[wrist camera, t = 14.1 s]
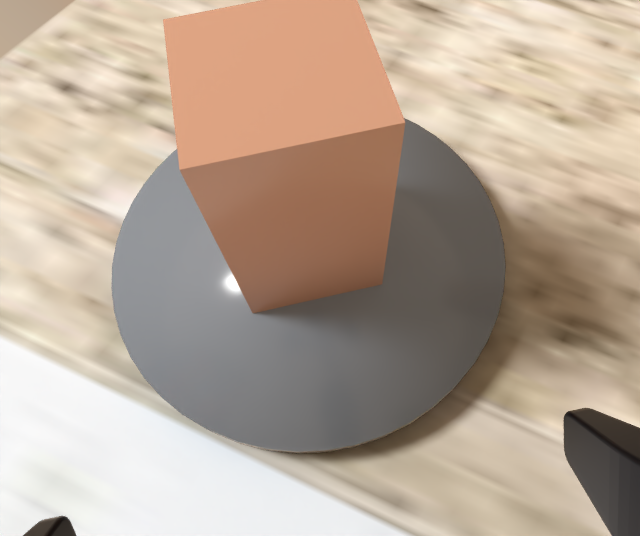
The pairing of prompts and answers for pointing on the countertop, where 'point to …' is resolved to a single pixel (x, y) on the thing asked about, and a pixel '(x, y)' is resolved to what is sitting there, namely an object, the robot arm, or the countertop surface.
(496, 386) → the countertop surface
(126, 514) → the countertop surface
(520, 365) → the countertop surface
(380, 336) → the slate plate
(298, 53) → the tall clay pillar
